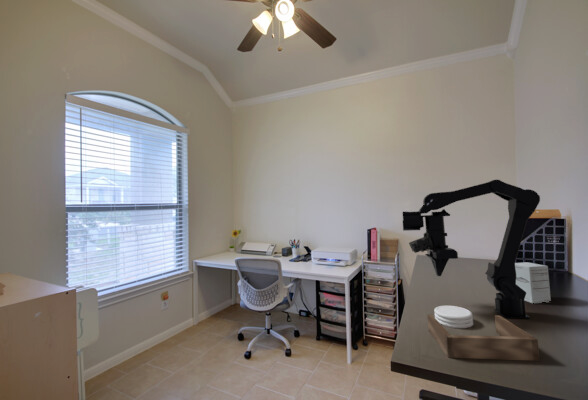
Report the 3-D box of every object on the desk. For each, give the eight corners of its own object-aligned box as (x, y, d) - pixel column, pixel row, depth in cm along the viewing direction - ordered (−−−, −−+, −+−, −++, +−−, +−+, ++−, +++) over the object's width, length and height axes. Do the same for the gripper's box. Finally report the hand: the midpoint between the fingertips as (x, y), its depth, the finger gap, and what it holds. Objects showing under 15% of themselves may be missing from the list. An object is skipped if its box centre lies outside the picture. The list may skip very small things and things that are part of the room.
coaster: (454, 331, 75) (453, 318, 75) (427, 318, 85) (426, 307, 85) (482, 326, 78) (480, 313, 78) (453, 314, 87) (452, 303, 88)
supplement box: (513, 297, 100) (510, 263, 100) (531, 296, 100) (528, 261, 101) (532, 304, 92) (528, 266, 93) (552, 302, 93) (548, 265, 94)
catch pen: (501, 332, 73) (499, 315, 73) (539, 360, 59) (537, 339, 59) (428, 330, 76) (427, 314, 76) (448, 357, 62) (447, 337, 62)
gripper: (404, 229, 103) (407, 270, 102) (418, 232, 85) (421, 283, 84) (435, 228, 101) (438, 270, 100) (456, 231, 83) (460, 282, 82)
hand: (438, 276), depth 92 cm, fingers closed
